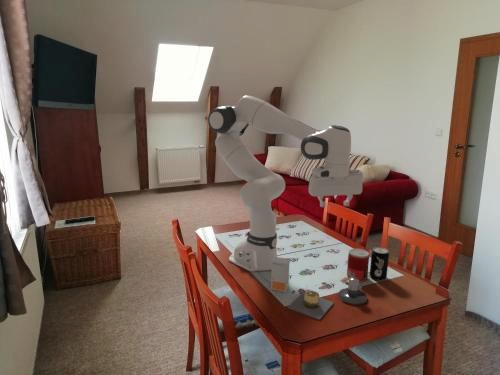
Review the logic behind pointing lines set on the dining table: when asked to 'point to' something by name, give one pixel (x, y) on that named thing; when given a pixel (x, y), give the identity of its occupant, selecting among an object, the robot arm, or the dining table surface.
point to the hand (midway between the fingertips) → (334, 206)
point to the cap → (311, 299)
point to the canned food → (358, 264)
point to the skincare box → (280, 274)
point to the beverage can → (379, 263)
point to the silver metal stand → (353, 293)
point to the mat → (314, 313)
